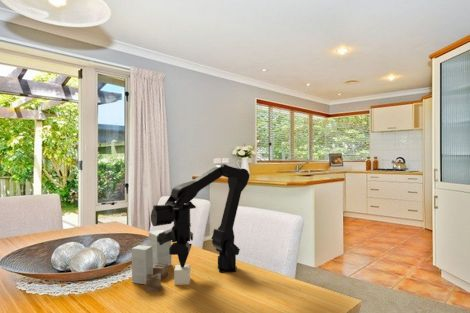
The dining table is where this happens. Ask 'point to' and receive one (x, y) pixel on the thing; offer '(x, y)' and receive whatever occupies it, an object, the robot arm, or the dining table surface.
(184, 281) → the cream block
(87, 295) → the dining table surface
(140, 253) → the skincare box
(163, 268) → the walnut block
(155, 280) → the walnut block
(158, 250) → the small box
